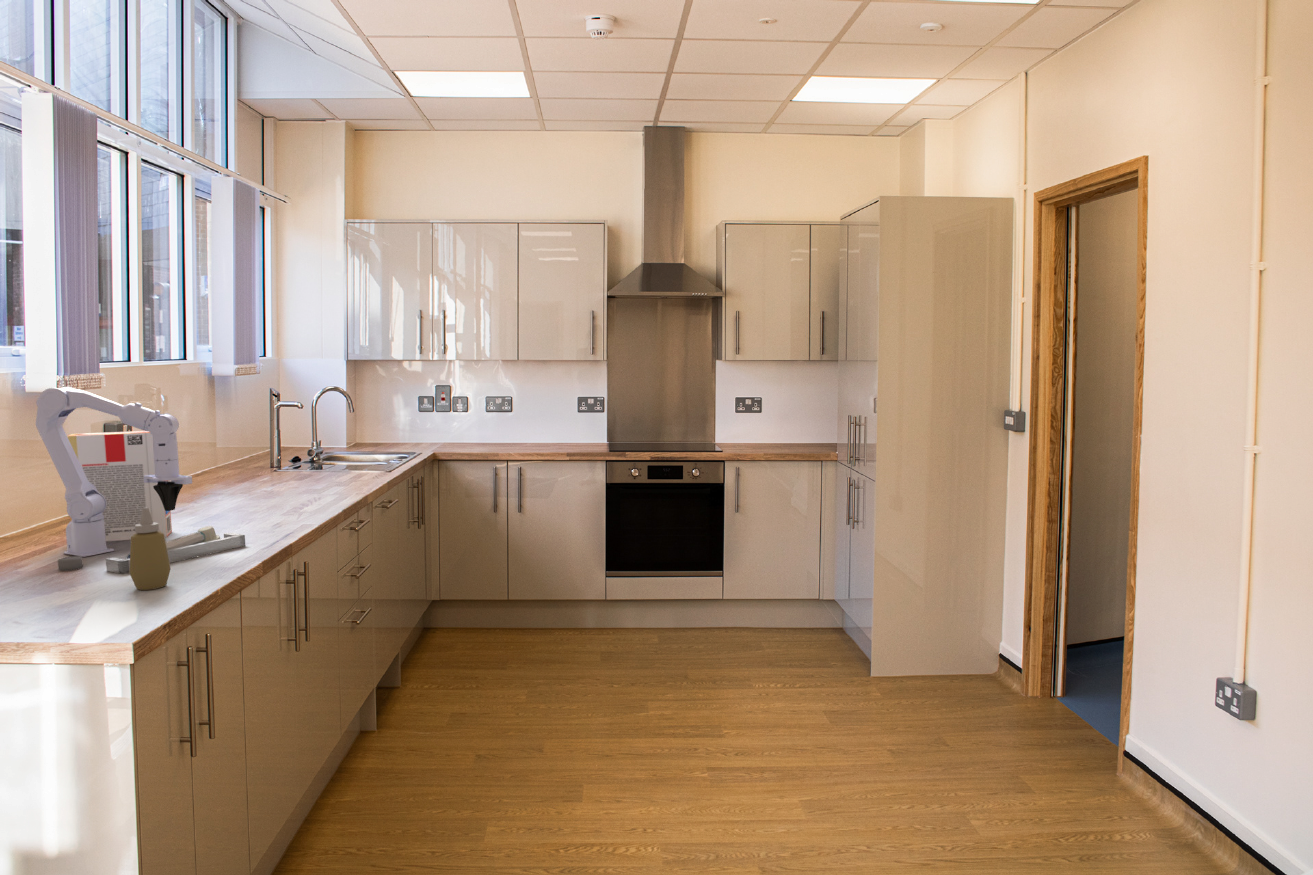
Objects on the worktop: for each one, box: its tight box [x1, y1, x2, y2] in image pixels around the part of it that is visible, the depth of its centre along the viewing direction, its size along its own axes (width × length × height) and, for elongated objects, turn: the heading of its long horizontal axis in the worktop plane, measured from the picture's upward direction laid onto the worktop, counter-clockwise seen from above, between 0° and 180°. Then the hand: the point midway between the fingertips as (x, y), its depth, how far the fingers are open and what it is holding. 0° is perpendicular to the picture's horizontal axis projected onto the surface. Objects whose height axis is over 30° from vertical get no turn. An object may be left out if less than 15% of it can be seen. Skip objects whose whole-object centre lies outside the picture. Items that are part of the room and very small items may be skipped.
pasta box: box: [67, 430, 173, 542], centre depth 256 cm, size 23×8×30 cm, turn 109°
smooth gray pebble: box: [57, 555, 84, 572], centre depth 221 cm, size 5×5×2 cm
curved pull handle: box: [105, 532, 246, 575], centre depth 230 cm, size 7×33×3 cm, turn 151°
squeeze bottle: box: [129, 508, 172, 591], centre depth 201 cm, size 8×8×18 cm
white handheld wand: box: [125, 525, 221, 559], centre depth 231 cm, size 5×7×25 cm
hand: (169, 510), depth 241 cm, fingers closed
